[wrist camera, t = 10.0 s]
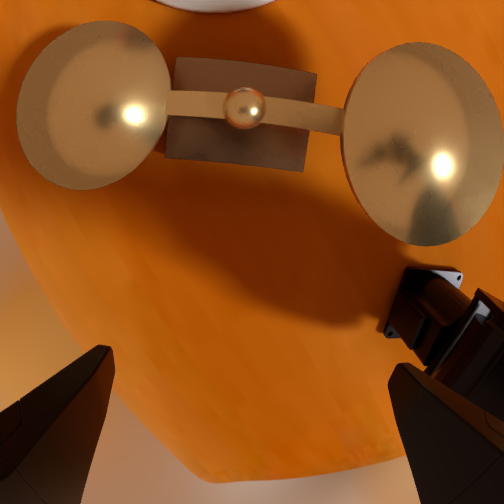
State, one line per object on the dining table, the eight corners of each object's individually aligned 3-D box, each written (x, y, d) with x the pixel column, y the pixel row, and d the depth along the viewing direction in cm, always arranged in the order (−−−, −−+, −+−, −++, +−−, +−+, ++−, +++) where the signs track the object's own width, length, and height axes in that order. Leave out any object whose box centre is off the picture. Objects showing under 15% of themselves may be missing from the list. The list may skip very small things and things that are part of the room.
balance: (425, 90, 18) (511, 86, 10) (405, 209, 21) (481, 254, 13) (62, 46, 15) (-13, 19, 7) (50, 174, 18) (-29, 207, 10)
